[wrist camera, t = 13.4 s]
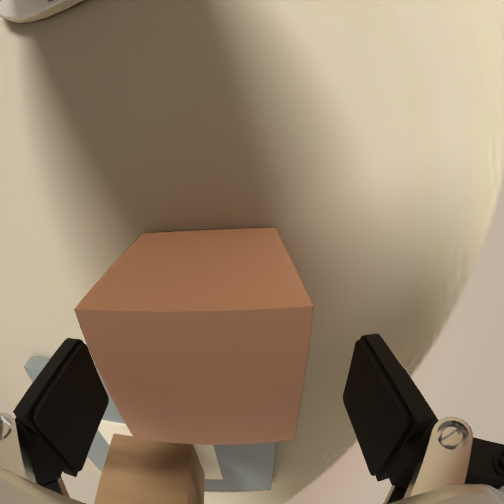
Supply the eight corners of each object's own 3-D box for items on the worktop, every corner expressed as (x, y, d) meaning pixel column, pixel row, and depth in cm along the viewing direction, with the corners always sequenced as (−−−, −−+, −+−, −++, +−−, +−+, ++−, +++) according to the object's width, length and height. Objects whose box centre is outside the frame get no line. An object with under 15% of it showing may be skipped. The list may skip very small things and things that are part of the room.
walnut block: (113, 433, 14) (93, 504, 9) (192, 441, 14) (186, 523, 9) (138, 467, 16) (127, 526, 11) (204, 473, 16) (202, 537, 11)
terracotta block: (142, 233, 11) (74, 309, 6) (275, 227, 11) (313, 305, 6) (162, 339, 13) (134, 438, 8) (273, 337, 13) (293, 440, 8)
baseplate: (31, 355, 13) (22, 368, 12) (277, 370, 14) (281, 389, 13) (109, 468, 19) (107, 479, 18) (269, 479, 20) (271, 491, 19)
